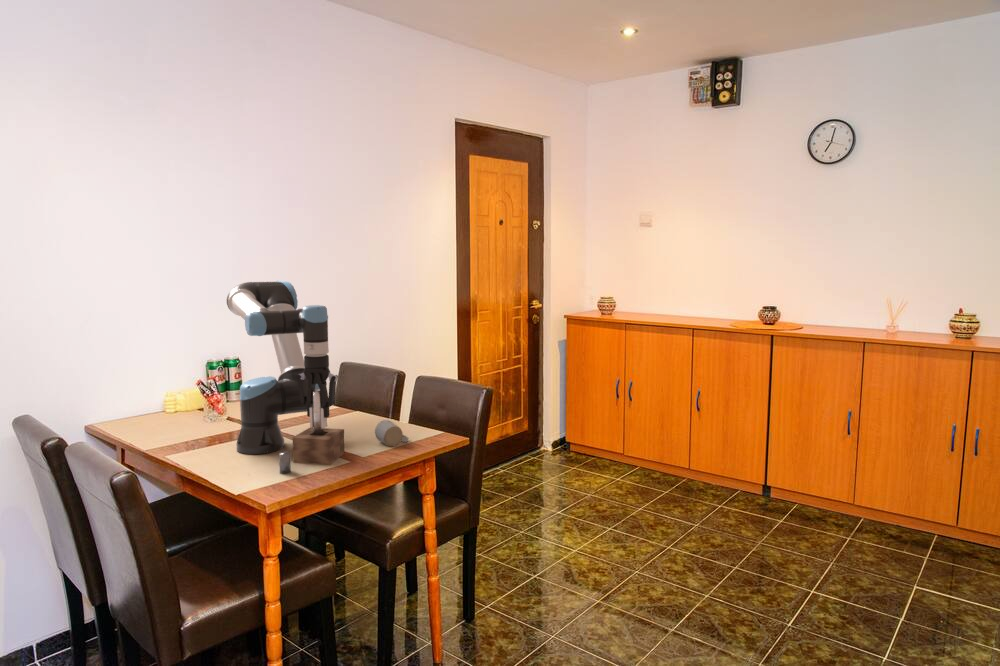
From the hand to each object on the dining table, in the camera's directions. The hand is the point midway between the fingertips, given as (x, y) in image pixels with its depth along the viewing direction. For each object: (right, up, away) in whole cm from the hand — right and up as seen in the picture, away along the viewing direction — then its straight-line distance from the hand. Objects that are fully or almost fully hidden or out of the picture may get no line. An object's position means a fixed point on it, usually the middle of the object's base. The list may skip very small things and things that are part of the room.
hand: (318, 426), depth 214 cm
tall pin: (0, -4, +1) cm, 4 cm away
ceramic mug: (+21, -8, +17) cm, 28 cm away
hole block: (0, -10, +1) cm, 10 cm away
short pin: (-7, -12, -13) cm, 19 cm away
